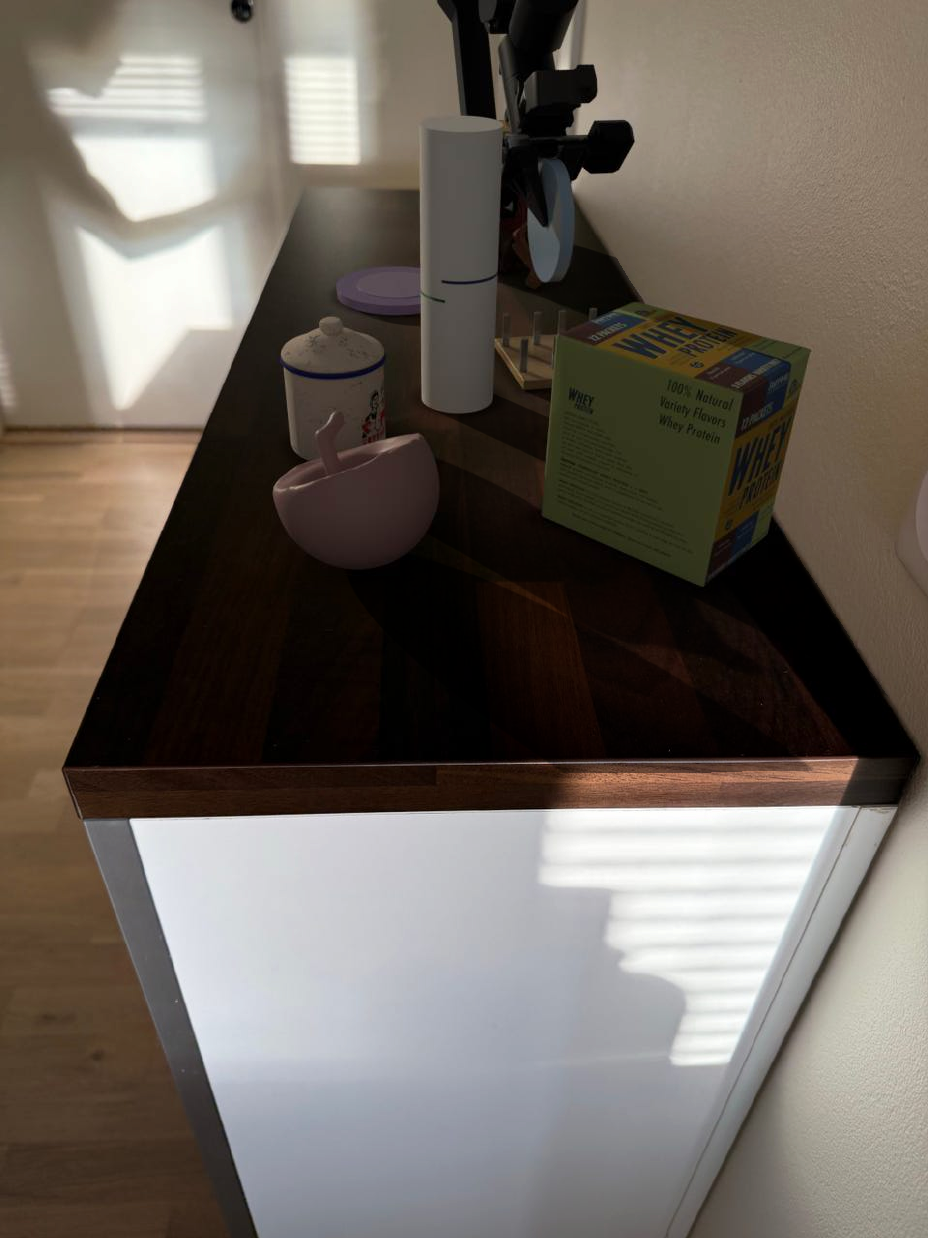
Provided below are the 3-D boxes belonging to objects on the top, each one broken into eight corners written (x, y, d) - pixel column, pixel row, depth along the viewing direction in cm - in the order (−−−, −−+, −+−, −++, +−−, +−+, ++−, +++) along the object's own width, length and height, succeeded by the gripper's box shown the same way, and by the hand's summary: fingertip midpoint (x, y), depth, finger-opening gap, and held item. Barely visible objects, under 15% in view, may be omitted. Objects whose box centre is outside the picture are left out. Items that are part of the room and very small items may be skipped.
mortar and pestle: (359, 500, 82) (352, 369, 75) (471, 551, 76) (474, 414, 69) (248, 560, 74) (229, 421, 67) (362, 622, 68) (354, 476, 61)
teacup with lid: (385, 469, 86) (381, 340, 79) (282, 467, 86) (268, 338, 79) (392, 410, 96) (389, 291, 89) (299, 409, 96) (289, 289, 89)
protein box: (705, 590, 72) (745, 392, 63) (538, 517, 80) (552, 332, 71) (770, 534, 78) (816, 347, 69) (610, 472, 86) (631, 296, 77)
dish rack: (494, 346, 110) (495, 306, 107) (587, 340, 112) (591, 300, 109) (523, 390, 100) (525, 347, 98) (624, 382, 102) (629, 340, 100)
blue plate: (524, 261, 111) (531, 146, 104) (536, 261, 111) (543, 146, 104) (556, 298, 102) (565, 174, 94) (569, 297, 102) (579, 174, 95)
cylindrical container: (485, 416, 95) (495, 134, 80) (414, 409, 96) (410, 128, 81) (498, 387, 101) (509, 118, 86) (430, 380, 102) (429, 113, 87)
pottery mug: (559, 268, 134) (581, 222, 127) (555, 320, 130) (578, 275, 123) (475, 244, 132) (492, 195, 125) (468, 296, 127) (486, 249, 120)
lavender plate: (354, 271, 130) (354, 261, 129) (465, 279, 128) (466, 269, 127) (321, 309, 118) (321, 299, 117) (444, 319, 116) (444, 308, 115)
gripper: (457, 31, 94) (481, 183, 92) (640, 30, 97) (666, 176, 96) (439, 107, 105) (461, 244, 103) (605, 103, 108) (628, 235, 106)
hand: (553, 224), depth 102 cm, fingers closed on blue plate, 1 cm apart
